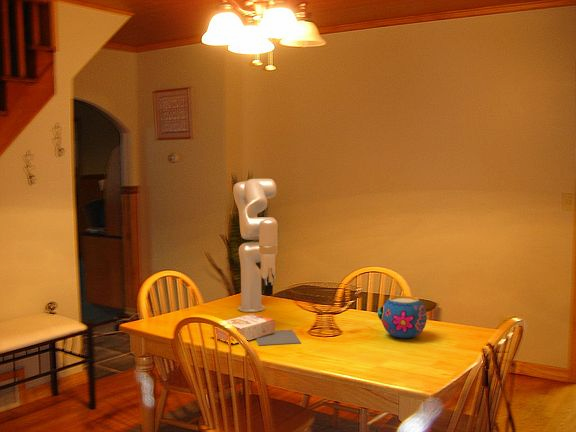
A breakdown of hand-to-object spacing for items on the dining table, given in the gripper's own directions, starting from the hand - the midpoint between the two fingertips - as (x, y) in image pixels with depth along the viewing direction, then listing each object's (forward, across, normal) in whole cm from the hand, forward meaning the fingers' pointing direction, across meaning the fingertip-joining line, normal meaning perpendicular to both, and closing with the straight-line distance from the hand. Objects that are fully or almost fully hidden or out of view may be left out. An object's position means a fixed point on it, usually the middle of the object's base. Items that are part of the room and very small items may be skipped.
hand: (268, 294), depth 238 cm
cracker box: (+11, +3, -2) cm, 11 cm away
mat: (+14, +13, +1) cm, 19 cm away
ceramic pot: (+14, +21, +50) cm, 56 cm away
